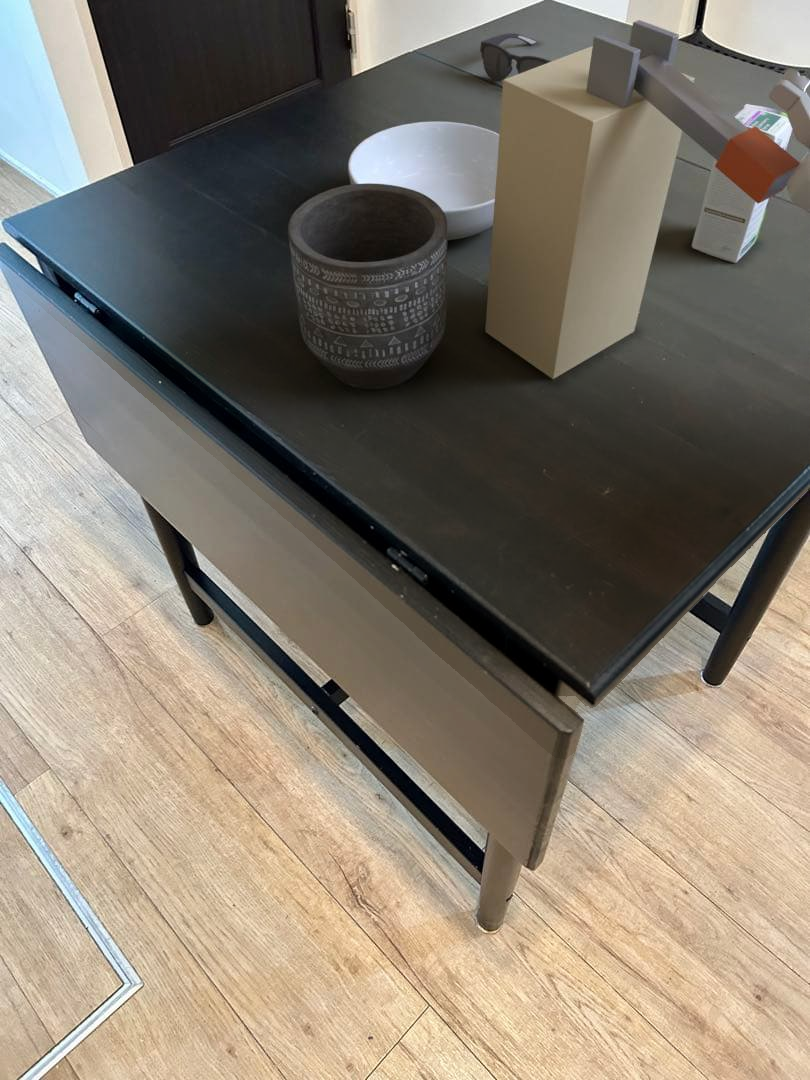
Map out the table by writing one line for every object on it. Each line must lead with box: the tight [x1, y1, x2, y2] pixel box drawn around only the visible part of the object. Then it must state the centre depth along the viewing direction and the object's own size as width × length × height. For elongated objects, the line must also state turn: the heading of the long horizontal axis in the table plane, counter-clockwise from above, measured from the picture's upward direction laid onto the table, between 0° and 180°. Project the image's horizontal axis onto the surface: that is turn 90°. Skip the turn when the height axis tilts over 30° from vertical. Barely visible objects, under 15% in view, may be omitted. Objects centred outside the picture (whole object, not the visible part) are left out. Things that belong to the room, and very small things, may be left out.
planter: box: [287, 183, 448, 390], centre depth 79 cm, size 14×14×15 cm
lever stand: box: [484, 19, 695, 380], centre depth 76 cm, size 10×12×29 cm
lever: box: [634, 53, 801, 204], centre depth 62 cm, size 14×3×2 cm, turn 39°
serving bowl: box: [347, 121, 499, 241], centre depth 99 cm, size 21×21×7 cm
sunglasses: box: [479, 32, 553, 83], centre depth 127 cm, size 16×17×5 cm
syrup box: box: [691, 103, 793, 264], centre depth 91 cm, size 6×6×14 cm
